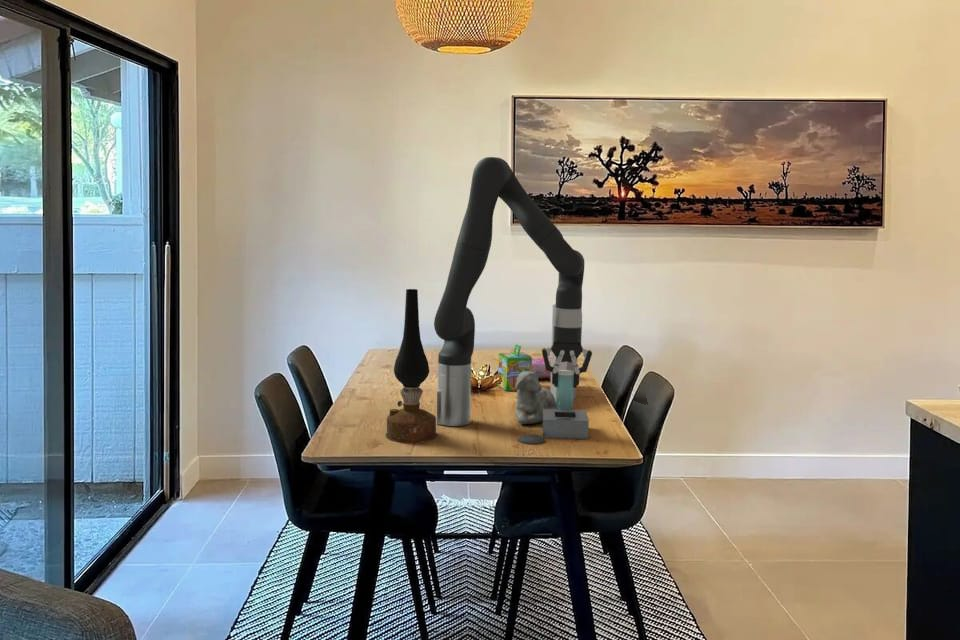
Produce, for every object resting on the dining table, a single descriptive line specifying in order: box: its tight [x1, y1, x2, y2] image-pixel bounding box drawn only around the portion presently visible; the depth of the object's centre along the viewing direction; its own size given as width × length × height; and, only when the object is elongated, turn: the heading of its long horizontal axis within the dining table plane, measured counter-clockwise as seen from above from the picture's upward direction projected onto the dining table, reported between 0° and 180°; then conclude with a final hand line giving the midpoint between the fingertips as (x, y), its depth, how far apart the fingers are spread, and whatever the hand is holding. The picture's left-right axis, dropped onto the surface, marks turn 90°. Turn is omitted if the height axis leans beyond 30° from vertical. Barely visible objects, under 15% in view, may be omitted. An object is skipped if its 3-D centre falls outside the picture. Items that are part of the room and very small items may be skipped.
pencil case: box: [531, 356, 551, 380], centre depth 301 cm, size 21×9×9 cm, turn 104°
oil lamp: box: [385, 288, 438, 444], centre depth 224 cm, size 14×15×40 cm
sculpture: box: [515, 371, 558, 425], centre depth 246 cm, size 11×21×15 cm, turn 167°
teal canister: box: [556, 370, 574, 410], centre depth 230 cm, size 5×5×10 cm
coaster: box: [517, 434, 546, 445], centre depth 223 cm, size 7×7×1 cm
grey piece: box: [549, 303, 578, 401], centre depth 272 cm, size 36×8×30 cm, turn 171°
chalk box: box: [497, 344, 533, 392], centre depth 286 cm, size 9×9×15 cm
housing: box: [541, 409, 590, 440], centre depth 231 cm, size 12×12×5 cm
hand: (565, 386), depth 230 cm, fingers closed on teal canister, 4 cm apart
